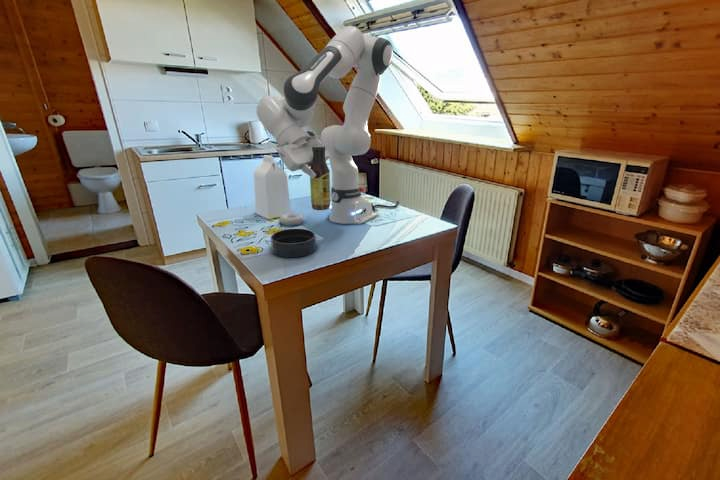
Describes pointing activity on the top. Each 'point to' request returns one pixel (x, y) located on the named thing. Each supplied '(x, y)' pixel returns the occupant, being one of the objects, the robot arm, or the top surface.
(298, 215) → the donut
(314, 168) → the sauce bottle
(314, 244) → the pan
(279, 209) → the milk
